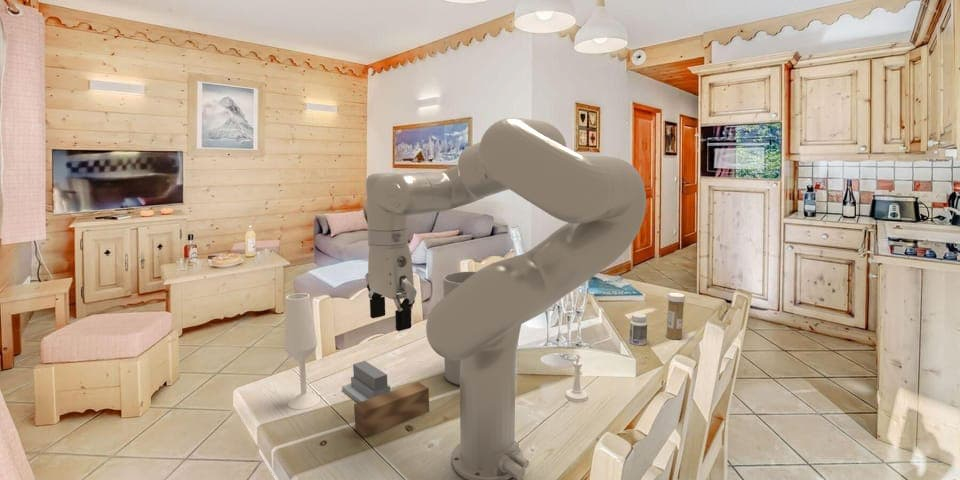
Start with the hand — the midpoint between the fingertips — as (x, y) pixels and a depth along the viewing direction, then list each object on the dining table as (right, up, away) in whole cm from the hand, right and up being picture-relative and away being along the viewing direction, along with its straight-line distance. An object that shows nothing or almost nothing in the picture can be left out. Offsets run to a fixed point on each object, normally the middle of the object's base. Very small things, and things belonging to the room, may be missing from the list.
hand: (390, 322), depth 95 cm
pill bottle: (+64, -14, +45) cm, 79 cm away
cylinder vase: (+15, -17, +23) cm, 33 cm away
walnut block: (0, -21, +3) cm, 21 cm away
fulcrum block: (-7, -19, +14) cm, 24 cm away
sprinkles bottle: (+76, -13, +49) cm, 92 cm away
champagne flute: (-21, -19, +11) cm, 30 cm away
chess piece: (+40, -19, +13) cm, 46 cm away
